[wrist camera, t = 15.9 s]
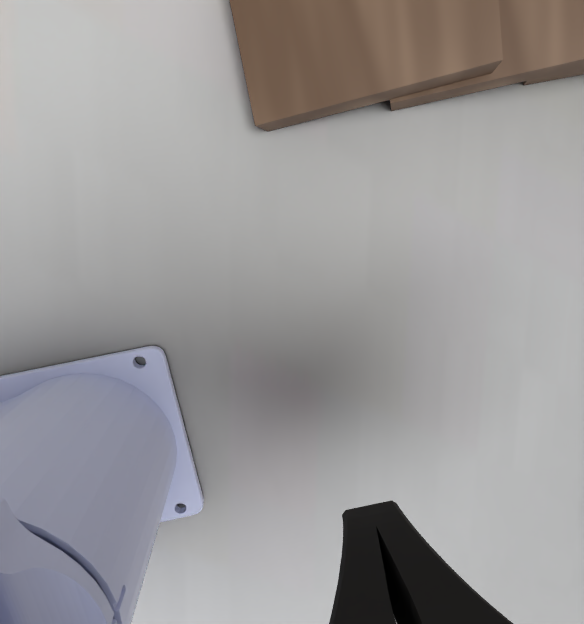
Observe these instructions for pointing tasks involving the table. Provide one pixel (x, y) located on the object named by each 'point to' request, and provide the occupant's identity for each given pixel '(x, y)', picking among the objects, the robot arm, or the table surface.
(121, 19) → the table surface
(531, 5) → the walnut tile
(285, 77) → the walnut tile
